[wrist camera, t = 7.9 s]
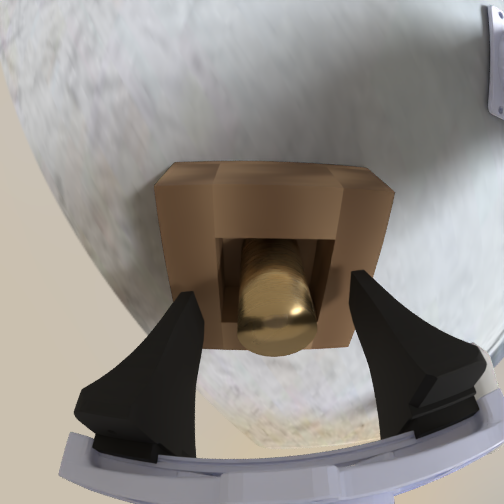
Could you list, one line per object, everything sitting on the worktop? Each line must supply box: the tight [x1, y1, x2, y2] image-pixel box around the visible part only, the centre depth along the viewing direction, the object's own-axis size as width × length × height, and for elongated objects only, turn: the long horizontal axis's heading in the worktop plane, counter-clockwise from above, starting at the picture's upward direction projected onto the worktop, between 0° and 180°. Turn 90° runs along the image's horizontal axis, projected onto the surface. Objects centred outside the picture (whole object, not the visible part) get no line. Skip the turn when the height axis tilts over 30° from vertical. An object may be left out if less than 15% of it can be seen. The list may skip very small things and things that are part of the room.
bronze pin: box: [237, 238, 317, 357], centre depth 14 cm, size 3×3×6 cm
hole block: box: [154, 161, 395, 350], centre depth 15 cm, size 10×10×4 cm
